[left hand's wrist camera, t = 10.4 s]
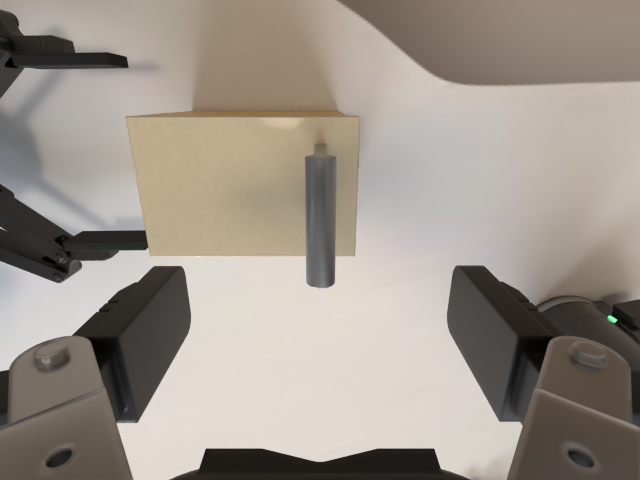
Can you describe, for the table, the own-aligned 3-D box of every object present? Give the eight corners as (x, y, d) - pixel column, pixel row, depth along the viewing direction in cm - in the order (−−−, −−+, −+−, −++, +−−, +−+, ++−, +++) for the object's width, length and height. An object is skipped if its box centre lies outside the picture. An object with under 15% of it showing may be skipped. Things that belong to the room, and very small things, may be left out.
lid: (358, 115, 23) (378, 124, 15) (353, 250, 26) (368, 314, 18) (134, 115, 23) (38, 123, 15) (157, 250, 26) (87, 314, 18)
